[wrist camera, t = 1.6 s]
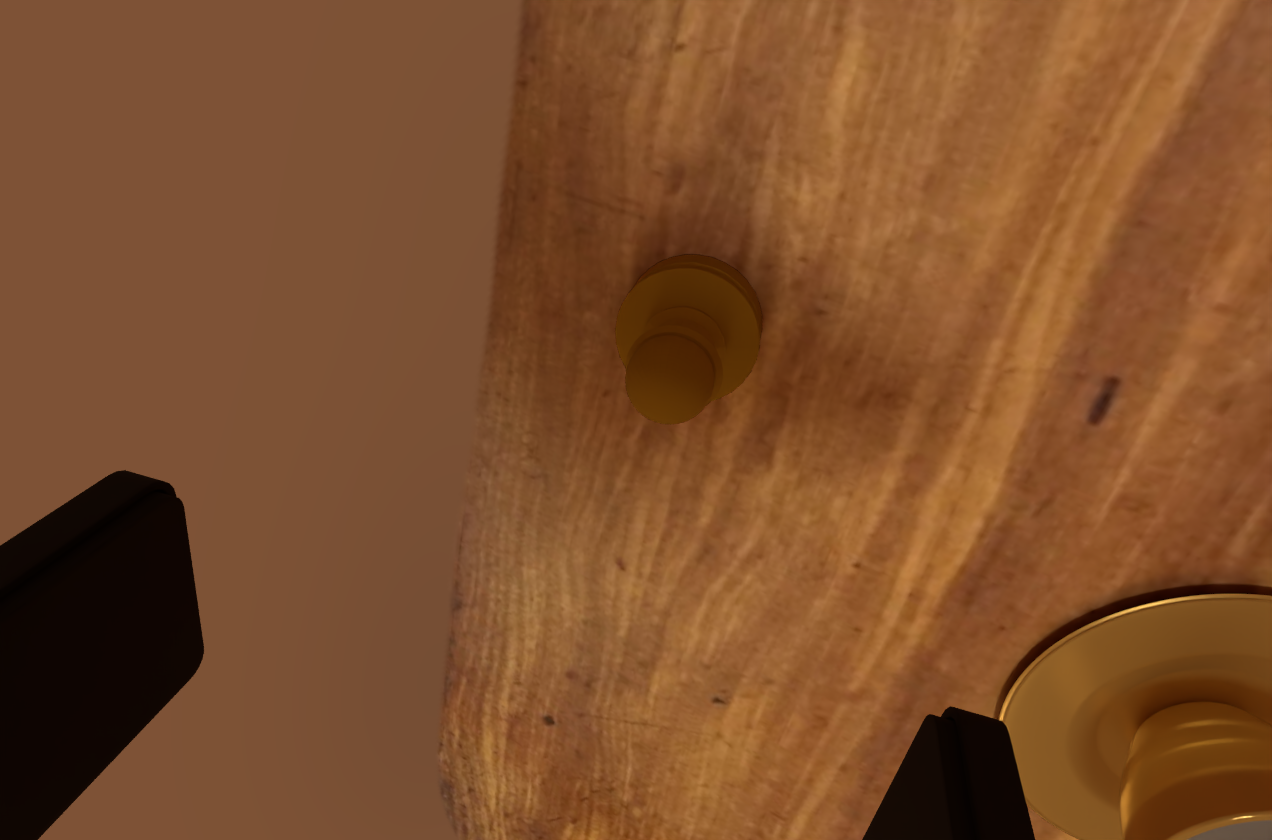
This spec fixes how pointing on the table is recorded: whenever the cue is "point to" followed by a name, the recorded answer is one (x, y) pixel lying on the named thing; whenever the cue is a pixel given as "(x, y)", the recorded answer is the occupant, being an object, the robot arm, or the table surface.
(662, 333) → the chess piece
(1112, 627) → the cup
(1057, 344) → the table surface
